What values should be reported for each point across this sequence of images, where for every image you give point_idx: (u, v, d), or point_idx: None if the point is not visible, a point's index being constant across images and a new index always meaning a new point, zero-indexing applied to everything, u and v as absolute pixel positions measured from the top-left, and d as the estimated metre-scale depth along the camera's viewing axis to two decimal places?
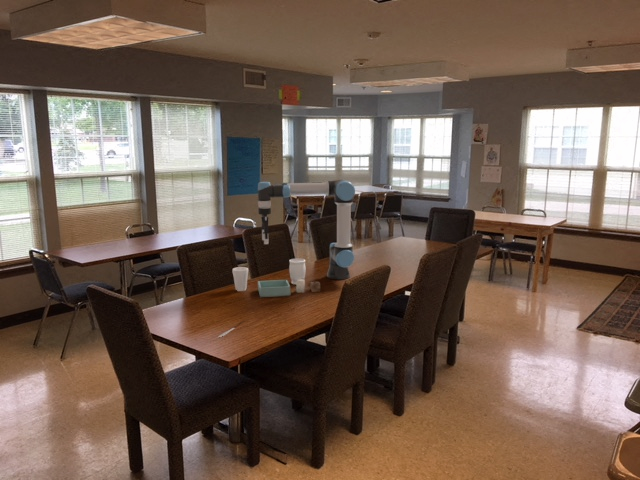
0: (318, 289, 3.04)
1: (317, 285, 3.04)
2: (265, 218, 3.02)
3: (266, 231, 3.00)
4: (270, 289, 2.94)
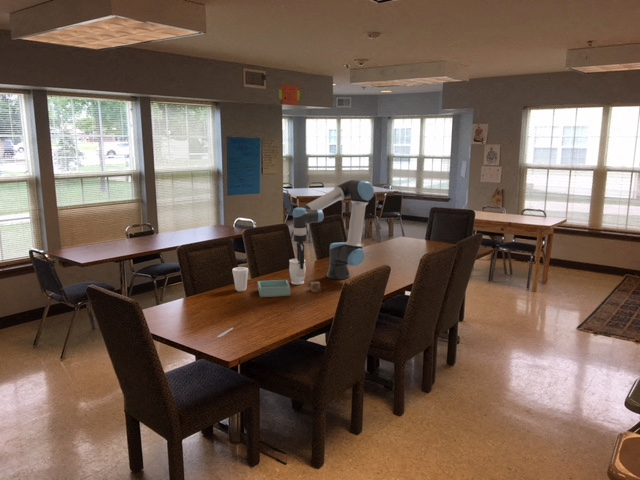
0: (318, 289, 3.04)
1: (317, 285, 3.04)
2: (301, 248, 2.94)
3: (302, 261, 2.96)
4: (270, 289, 2.94)
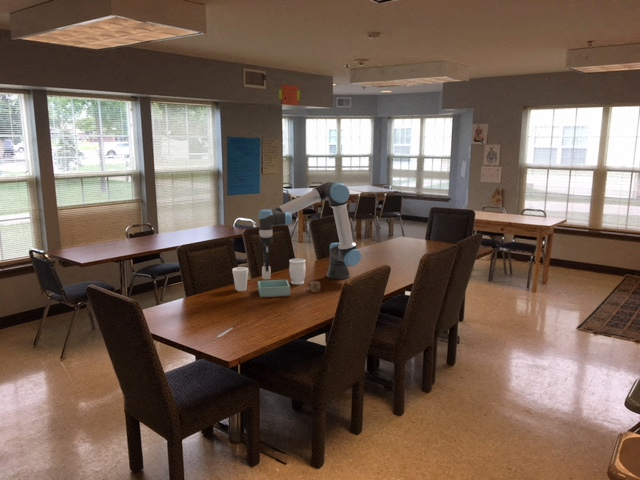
0: (318, 289, 3.04)
1: (317, 285, 3.04)
2: (266, 251, 2.91)
3: (267, 263, 2.93)
4: (270, 289, 2.94)
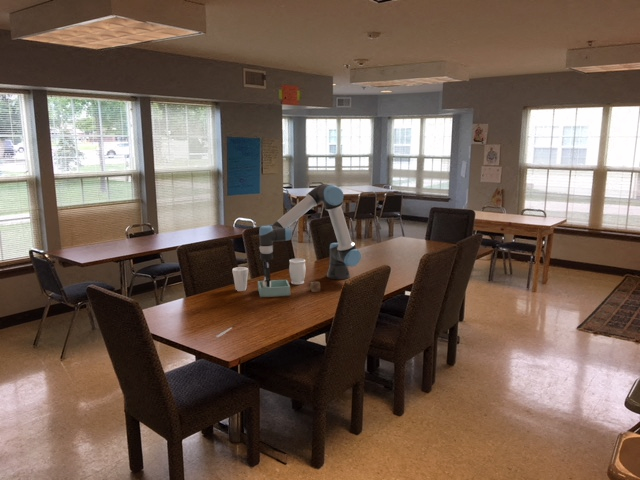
0: (318, 289, 3.04)
1: (317, 285, 3.04)
2: (267, 266, 2.92)
3: (268, 279, 2.92)
4: (270, 289, 2.94)
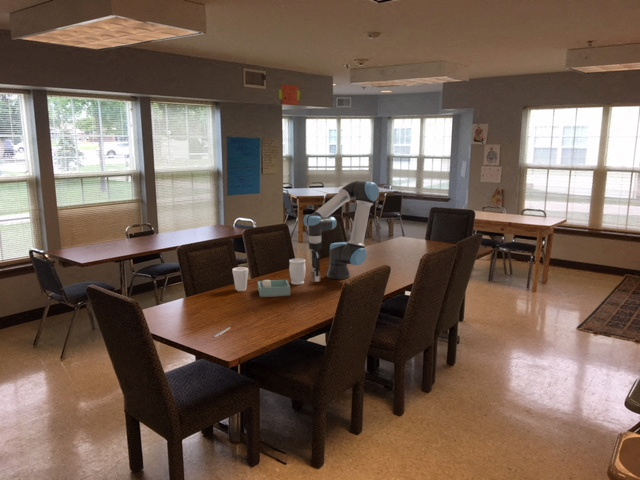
0: None
1: None
2: (317, 256, 2.97)
3: (317, 269, 2.99)
4: (270, 289, 2.94)
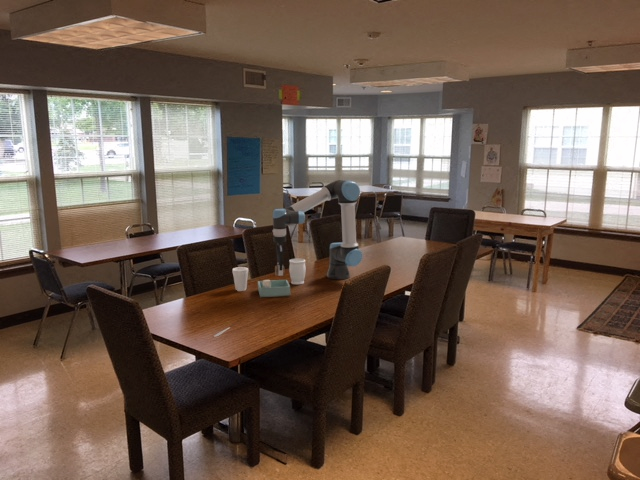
0: None
1: None
2: (280, 250, 2.92)
3: (281, 262, 2.94)
4: (270, 289, 2.94)
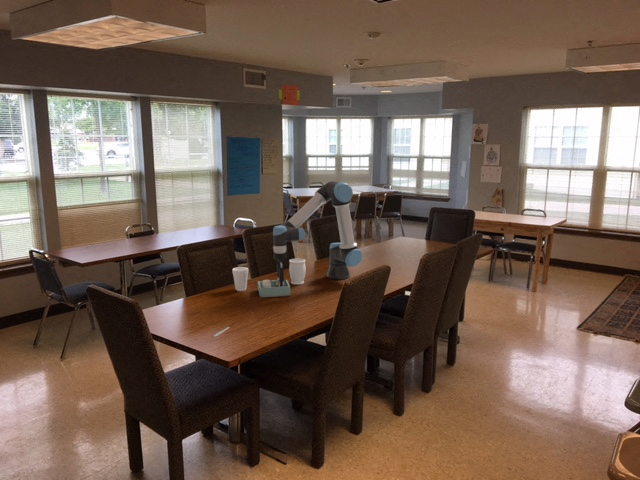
0: None
1: None
2: (281, 266, 2.94)
3: (281, 279, 2.95)
4: (270, 289, 2.94)
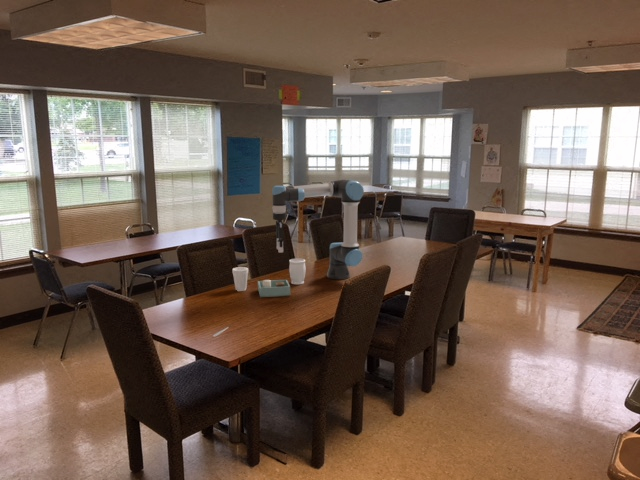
0: None
1: (282, 286, 3.00)
2: (280, 225, 2.89)
3: (281, 239, 2.90)
4: (270, 289, 2.94)
